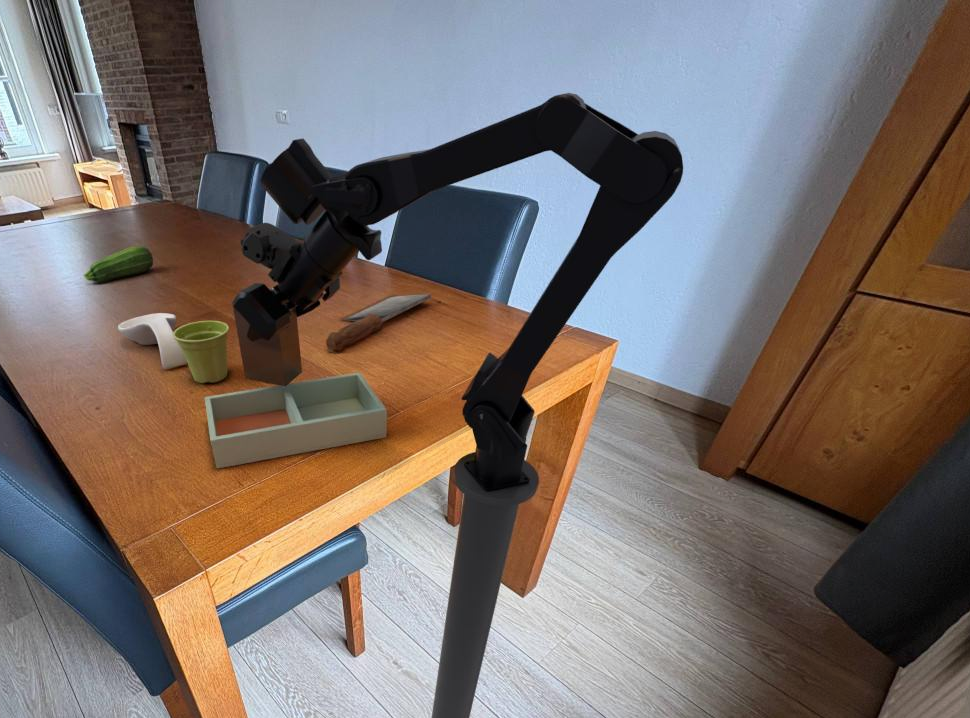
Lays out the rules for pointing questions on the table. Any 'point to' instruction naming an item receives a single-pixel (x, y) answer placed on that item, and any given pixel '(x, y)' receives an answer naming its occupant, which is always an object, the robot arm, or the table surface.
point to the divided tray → (293, 419)
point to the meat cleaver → (372, 319)
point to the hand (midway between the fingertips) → (260, 331)
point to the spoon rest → (156, 336)
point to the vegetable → (121, 264)
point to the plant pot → (204, 349)
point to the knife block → (270, 353)
